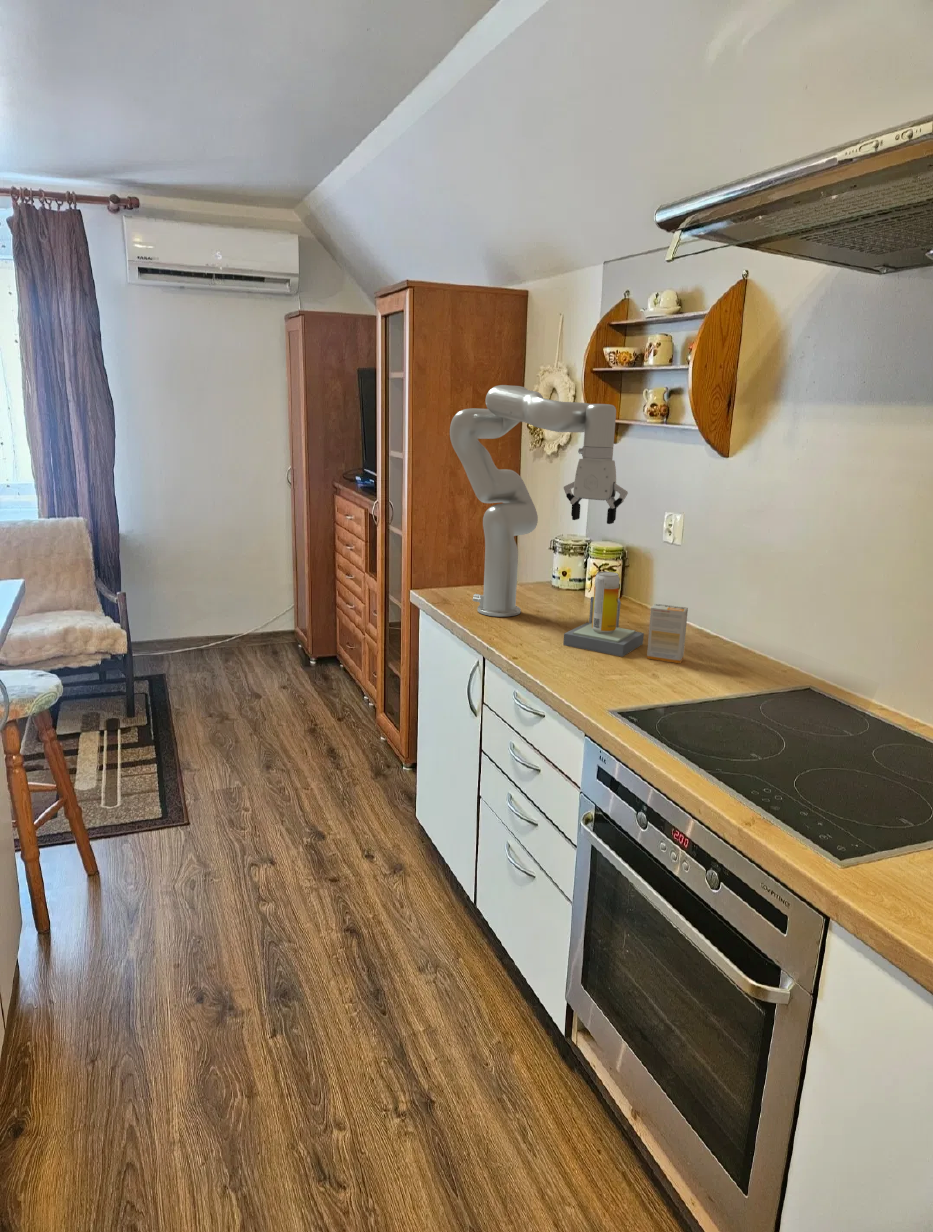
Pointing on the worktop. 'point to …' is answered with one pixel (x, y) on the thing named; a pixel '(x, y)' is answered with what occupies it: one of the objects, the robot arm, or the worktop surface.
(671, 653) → the supplement box
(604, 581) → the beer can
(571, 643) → the raised board
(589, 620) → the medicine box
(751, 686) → the worktop surface
